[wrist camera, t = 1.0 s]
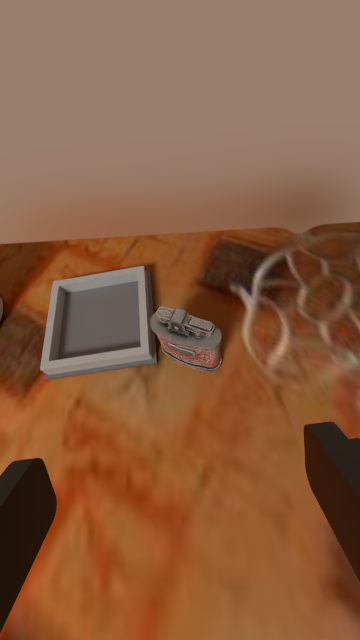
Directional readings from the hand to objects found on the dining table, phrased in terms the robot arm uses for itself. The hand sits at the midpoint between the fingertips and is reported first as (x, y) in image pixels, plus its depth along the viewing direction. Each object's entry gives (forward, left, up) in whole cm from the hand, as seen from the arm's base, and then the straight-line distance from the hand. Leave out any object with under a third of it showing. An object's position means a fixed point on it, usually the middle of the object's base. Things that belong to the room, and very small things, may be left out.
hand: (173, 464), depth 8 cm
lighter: (0, -13, -24) cm, 28 cm away
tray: (+12, -20, -24) cm, 34 cm away
